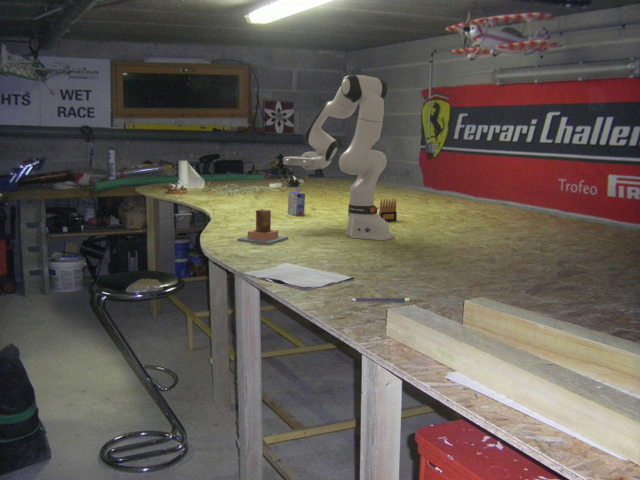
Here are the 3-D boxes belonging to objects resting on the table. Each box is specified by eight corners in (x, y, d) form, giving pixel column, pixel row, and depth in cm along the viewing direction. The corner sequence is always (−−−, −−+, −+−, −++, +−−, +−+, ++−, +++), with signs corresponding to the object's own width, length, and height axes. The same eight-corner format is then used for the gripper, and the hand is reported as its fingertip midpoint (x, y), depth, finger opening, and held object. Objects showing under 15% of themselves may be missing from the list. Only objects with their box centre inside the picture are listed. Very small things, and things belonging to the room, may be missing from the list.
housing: (288, 239, 276) (288, 230, 275) (268, 245, 262) (268, 235, 261) (258, 235, 283) (258, 226, 283) (237, 240, 269) (237, 231, 269)
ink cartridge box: (305, 215, 343) (305, 189, 340) (296, 216, 340) (296, 189, 337) (296, 213, 351) (296, 187, 349) (287, 213, 348) (287, 187, 346)
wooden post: (270, 237, 274) (270, 210, 271) (264, 239, 270) (264, 211, 267) (261, 236, 276) (261, 209, 273) (256, 238, 272) (256, 210, 269)
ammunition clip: (394, 220, 335) (395, 198, 333) (396, 220, 333) (397, 198, 331) (378, 221, 330) (379, 198, 327) (380, 222, 328) (381, 199, 326)
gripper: (291, 153, 310) (276, 154, 298) (328, 155, 300) (314, 156, 288) (291, 166, 311) (276, 167, 299) (327, 168, 302) (314, 170, 290)
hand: (295, 162), depth 294 cm, fingers open, 8 cm apart
